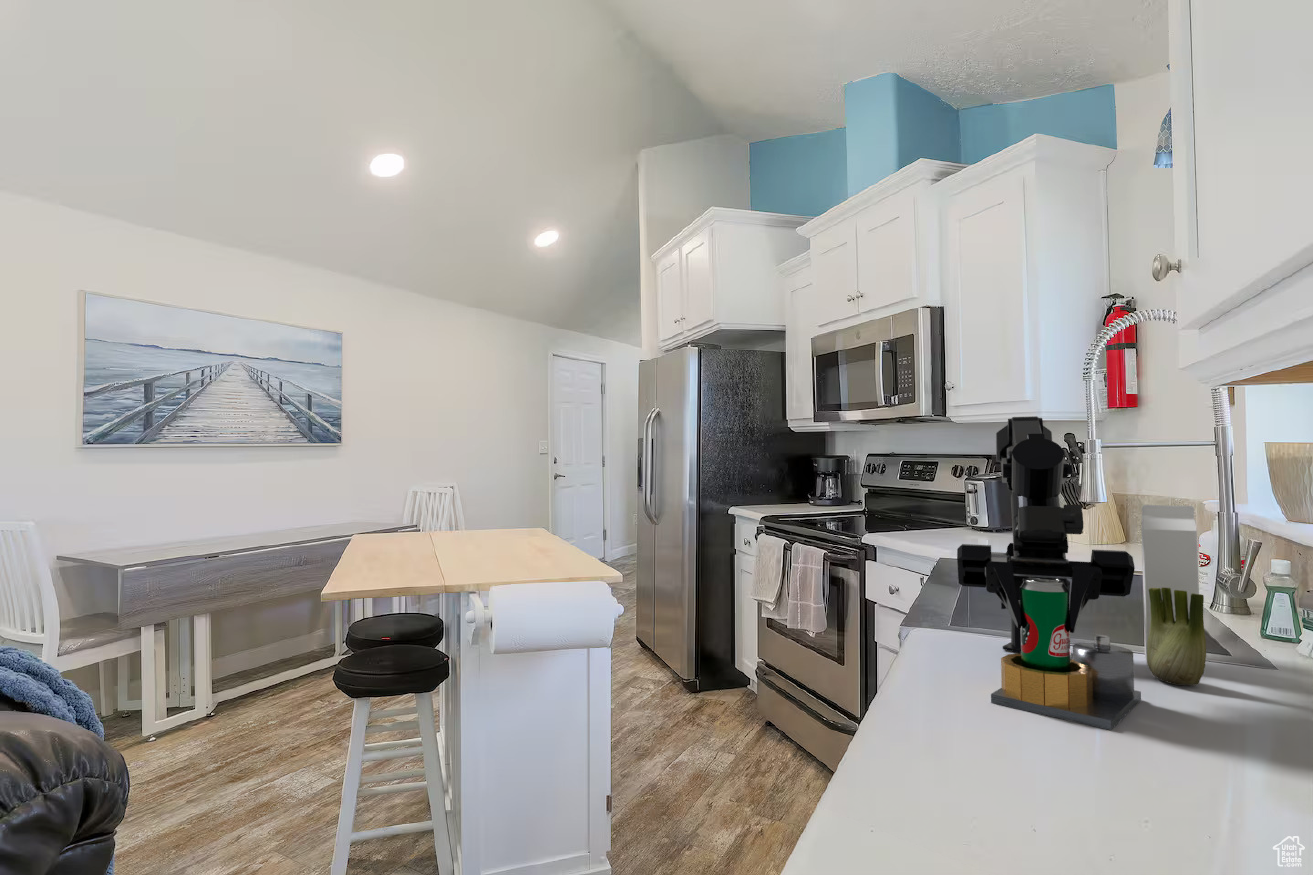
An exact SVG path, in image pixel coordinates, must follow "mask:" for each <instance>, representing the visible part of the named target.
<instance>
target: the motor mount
mask: <svg viewBox="0 0 1313 875" xmlns="http://www.w3.org/2000/svg"><path fill="white" fill-rule="evenodd" d="M1134 665H1135V664H1134V651H1132V650H1130V649H1129V648H1125V647H1122V646H1119V645H1118V646H1117V645H1114V644H1111V637H1110V635H1105V634H1094V635H1093V642H1077V643H1074V644H1072V658H1071V672H1065V673H1060V672H1046V671H1040V670H1034V669H1029V668H1025V667H1022V666H1021V653H1020V652H1018V653H1009V654H1006V655H1004V656H1002V657H1001V658H1000V667H1001V668H1000V672H1001V674H1000V675H1001V676H1000V678H1001V679H1000V680H1001V687H1000V688H999V689H997V690H995V691H993V692H992V693H990V703H992V704H995V705H1000V706H1005V707H1009V708H1013V709H1017V710H1022V711H1026V712H1031V713H1034V714H1039V715H1043V716H1048V717H1053V718H1056V719H1060V720H1064V721H1069V722H1074V723H1079V724H1083V725H1087V726H1091V727H1096V728H1099V729H1103V730H1104V729H1105V730H1109V731H1112V730H1113V729H1114V728H1115V727H1116V726H1117V725H1118V724H1119V723H1120V722H1121V721H1122V720H1123V719H1124V718H1125V717H1126V716H1127V715H1128V714H1130V712H1131V711H1132V710H1133V709H1134V708H1135V707H1136V706H1137V705H1138V704H1139V703H1140V702H1142V691H1139V690H1135V672H1134V668H1135V666H1134Z"/></svg>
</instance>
